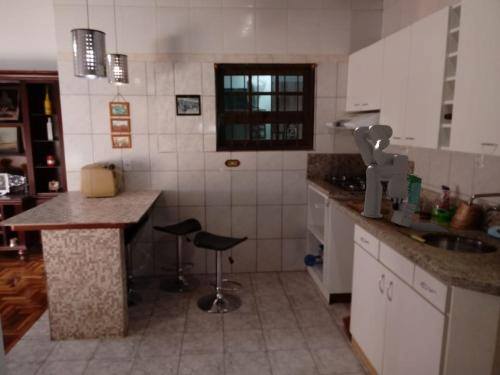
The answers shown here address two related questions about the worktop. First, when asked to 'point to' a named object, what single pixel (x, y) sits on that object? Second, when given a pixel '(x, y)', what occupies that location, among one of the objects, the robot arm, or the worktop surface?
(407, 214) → the supplement box
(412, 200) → the milk carton
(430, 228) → the mat
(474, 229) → the worktop surface
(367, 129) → the robot arm
